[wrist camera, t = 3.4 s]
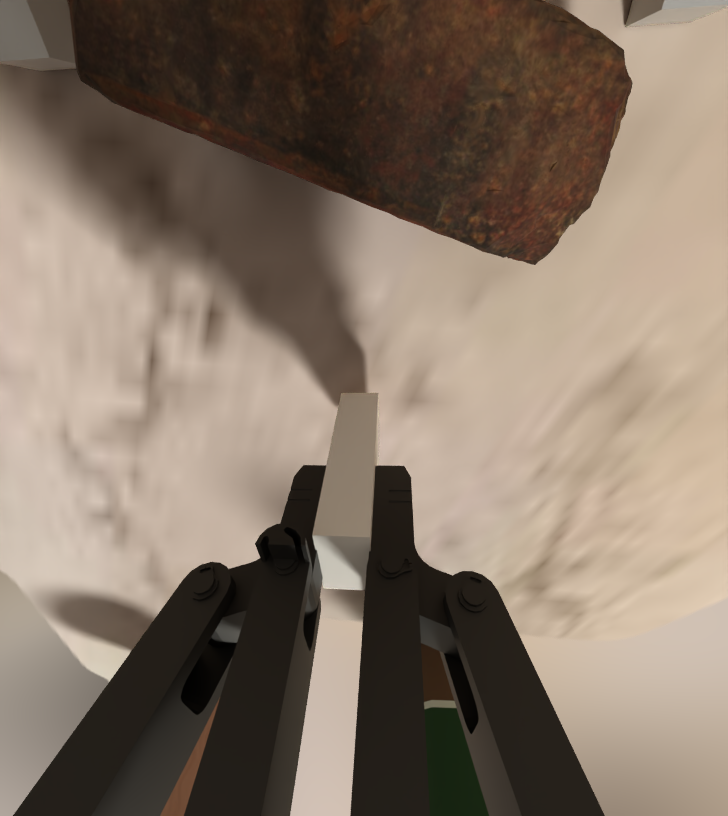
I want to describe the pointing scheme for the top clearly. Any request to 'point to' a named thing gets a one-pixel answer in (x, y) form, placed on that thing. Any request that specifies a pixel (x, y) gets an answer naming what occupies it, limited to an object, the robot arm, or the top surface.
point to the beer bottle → (447, 747)
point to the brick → (383, 100)
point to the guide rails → (53, 47)
